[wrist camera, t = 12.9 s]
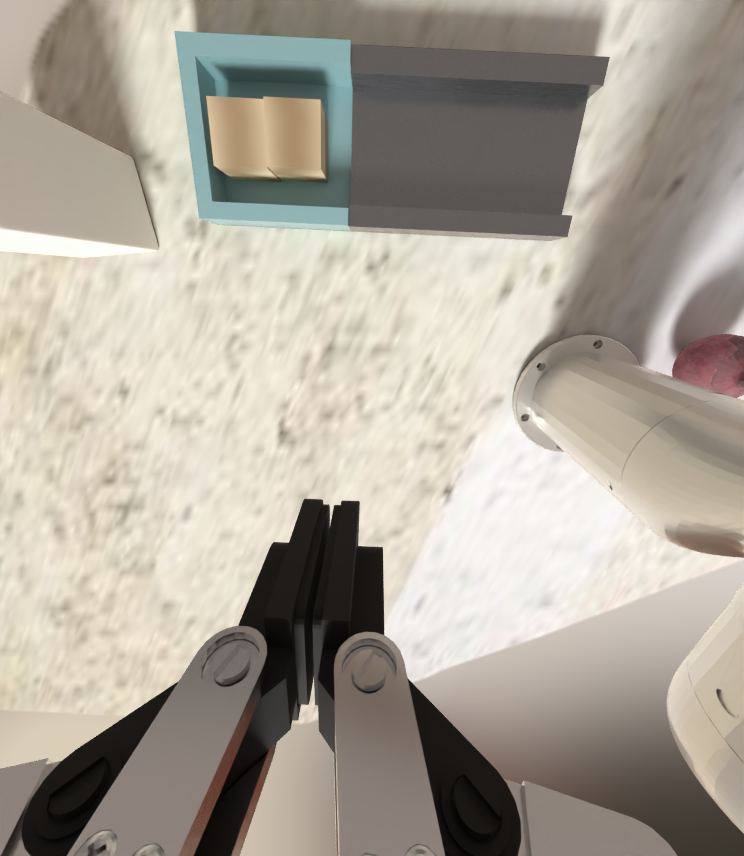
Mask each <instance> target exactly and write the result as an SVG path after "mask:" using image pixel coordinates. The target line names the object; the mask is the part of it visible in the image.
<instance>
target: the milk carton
mask: <svg viewBox="0 0 744 856" xmlns="http://www.w3.org/2000/svg"><path fill="white" fill-rule="evenodd" d="M158 250H159V247H158V243H157V240H156V236H155V233H154V229H153V226H152V222H151V219H150V215H149V212H148V208H147V205H146V201H145V198H144V194H143V191H142V187H141V184H140V180H139V177H138V173H137V170H136V166H135V163H134V160H133V158H132V157H130V156H129V155H127V154H125V153H123V152H121V151H119V150H117V149H115V148H113V147H111V146H109V145H107V144H105V143H103V142H101V141H99V140H97V139H95V138H93V137H91V136H89V135H87V134H85V133H83V132H81V131H79V130H77V129H75V128H73V127H71V126H69V125H67V124H65V123H63V122H61V121H59V120H57V119H55V118H53V117H51V116H49V115H47V114H45V113H43V112H41V111H39V110H37V109H35V108H33V107H31V106H29V105H27V104H25V103H23V102H21V101H19V100H17V99H15V98H13V97H11V96H9V95H7V94H5V93H3V92H1V91H0V251H8V252H21V253H34V254H46V255H59V256H72V257H84V258H87V257H98V256H108V255H119V254H130V253H141V252H151V251H158Z"/></svg>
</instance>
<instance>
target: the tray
mask: <svg viewBox="0 0 744 856" xmlns="http://www.w3.org/2000/svg"><path fill="white" fill-rule="evenodd" d="M175 38H176V46H177V53H178V61H179V69H180V76H181V84H182V91H183V99H184V106H185V114H186V121H187V129H188V136H189V144H190V152H191V159H192V167H193V174H194V182H195V189H196V197H197V204H198V212H199V218H200V219H203V220H206V221H209V222H212V223H214V224H217V225H234V226H255V227H276V228H296V229H317V230H338V231H351V230H350V228H349V227H348V221H349V205H351V155H352V95H353V87H352V79H351V40H345V39H324V38H304V37H283V36H263V35H242V34H222V33H201V32H181V31H175ZM206 96H218V97H236V98H254V99H263V96H265V97H283V98H301V99H319V100H321V102H322V106H323V109H324V112H325V115H326V118H327V121H328V183H317V182H299V181H281V182H263V181H244V180H234V179H232V178H231V177H229V176H228V175H227V174H225V173H224V172H222V171H221V170H219V169H218V168H217V167H215V166H214V163H213V154H212V145H211V136H210V126H209V117H208V108H207V99H206Z"/></svg>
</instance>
